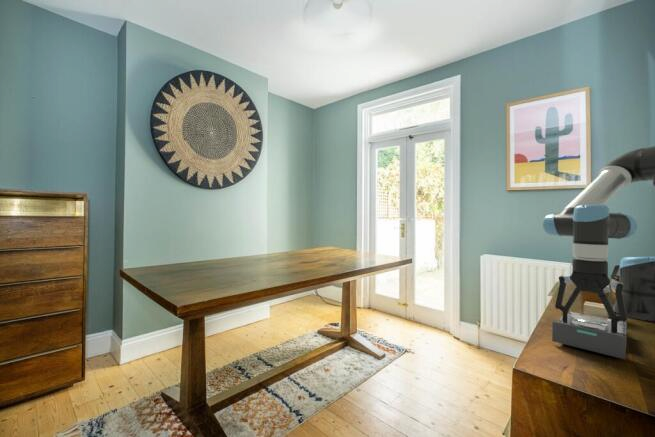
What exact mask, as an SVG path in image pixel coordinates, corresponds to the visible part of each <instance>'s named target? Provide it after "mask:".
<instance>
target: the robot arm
mask: <svg viewBox="0 0 655 437" xmlns="http://www.w3.org/2000/svg"><path fill="white" fill-rule="evenodd" d="M645 181H652V185H653V187H655V145H654V146H649V147H643V148H637V149H636V148H635V149H634V150H630V151H628V152H625V153H623V154H622V155H619V156H618V157H616V158H614V159H612V160H611V161H610V162H609V163H607V164H606V165H604V166H603V167H602V168H601V169H600V170H599V171H598V172H597V177H596V178H594V179H593V181H592V182H591V183H590V184H588V185H587V187H585V188H584V189H583V190H582V191H581V192H580V193H579V194H578V195H577V196H576V197H575V198H574V199H572V201H571V202H569V203H568V204H567V205H566V206H565V207H564V208H563V209H562V210H561V211H560V212H559V213H549V214H546V216H545V217H544V218H543V219H542V220H543V221H542V228H543V230H544V232H545V233H546V234H548V235H551V236H558V237H573V238H572V256H573V259H572V270H571V271H572V272H571V275H560V276H558V281H559V286H558V291H557V295H556V301H555V304H554V308H556V309H557V310H560V311H561V312H562V315H563V323H567V324H569V325H572V324H571V317H572V312H573V311H570V309H571V307H572V305H573V304H574V302H576V299H577V297H578V296H579V295H580V291H585V292H586V291H589V292H592V293H597V294H598V296H599V297H600V299H601V301H602V303H603V305H604V307H605V309H606V311H607V313H608V317H609V318H608V320H607V333H617V322H618V321H625V322H627V320H628V319H627V318H631V319H636V320H640V321H641V320H642V321H646V320H647V321H648V322H654V321H655V256H626V257H624V256H623V257H622V258H621V259H620V261H619V262H620V263H619V282H616V281H614V280H611V279H610V278H609V262H608V261H607V260H608V259H609V239H617V240H621V239H626V238H629V237H631V236H633V235H634V234H635V233H636V231H637V230H638V222H637V221H636V219H635V218H634V217H633V216H631V215H629V214H627V213H621V212H610V209H609V206H607V205H605V204H606V203H607V202H608V201H609V200H610V199H611V198H612V197H614V195H615V194H616V193H617V192H618V191H619V190H620V189H624V188H626V187H628V186H629V185H630V184H633V183H636V182H645ZM570 281H571V282H572V283H573V284H574V285H575V288H574V290H573V292H572V294H571V295H570V296H569V299H568V300H567V302H566V303H565V305H563V300H564V297H565V291H566V288H567V284H568V283H569V282H570ZM609 285H610V286H611V288H612V289H611V290H614V292H615V297H616V299H615V303H614V304H613V306H612V304H611V303H610V300H609V298H608V299H607V297H606V295H605V292H604V290H603V289H604V288H605V287H607V286H609ZM569 311H570V312H569ZM615 312H616V313H615ZM617 313H618V314H617Z"/></svg>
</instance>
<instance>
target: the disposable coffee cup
mask: <svg viewBox="0 0 655 437" xmlns="http://www.w3.org/2000/svg"><path fill="white" fill-rule="evenodd" d="M603 290H604V292H605V295H606V297H607V299H608V300H609V296H610V295H609V294H610V293H611V291H612V289H611V288H610V286H609V285H608V286H607V287H605V288H604V289H603ZM579 297H580V304H581V310H582V311H581V312H582V314H584V303H585V301H586V302H592V303H598V304H603V303H602V301H601V299H600V297H599V296H598V294H597V293H592V292H589V291H586V292H585V291H580V293H579Z"/></svg>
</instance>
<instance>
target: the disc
mask: <svg viewBox="0 0 655 437" xmlns="http://www.w3.org/2000/svg"><path fill="white" fill-rule="evenodd" d="M571 324H572V325H574V326H579V327H583V328H588V329H593V330H598V331H602V332H606V331H607V323H606V322H604V321H601V320H598V319H594V318H589V317H582V316H572V317H571Z"/></svg>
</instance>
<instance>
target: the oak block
mask: <svg viewBox="0 0 655 437" xmlns="http://www.w3.org/2000/svg"><path fill="white" fill-rule="evenodd" d="M584 314H587V315H592V316H598V317H603V318H608V319H609V314H608V313H607V311H606V309H605V307H604V305H603V304H598V303H592V302H586V301H585V303H584Z"/></svg>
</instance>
